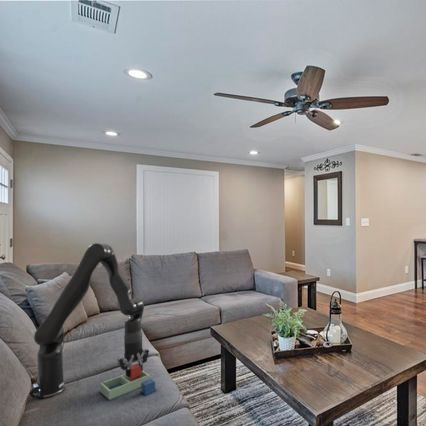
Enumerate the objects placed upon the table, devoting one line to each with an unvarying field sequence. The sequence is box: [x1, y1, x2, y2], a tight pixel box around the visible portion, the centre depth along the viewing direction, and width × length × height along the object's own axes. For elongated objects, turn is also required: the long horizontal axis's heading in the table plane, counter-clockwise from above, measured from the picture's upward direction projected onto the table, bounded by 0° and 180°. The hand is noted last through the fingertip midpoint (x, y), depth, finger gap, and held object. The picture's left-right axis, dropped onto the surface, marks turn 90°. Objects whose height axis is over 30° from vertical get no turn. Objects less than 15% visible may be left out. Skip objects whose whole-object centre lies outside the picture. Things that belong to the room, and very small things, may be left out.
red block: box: [130, 363, 141, 378], centre depth 159 cm, size 4×4×4 cm
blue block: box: [140, 378, 156, 396], centre depth 151 cm, size 4×4×4 cm
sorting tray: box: [99, 369, 151, 401], centre depth 156 cm, size 18×12×4 cm, turn 141°
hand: (134, 374), depth 159 cm, fingers open, 4 cm apart
